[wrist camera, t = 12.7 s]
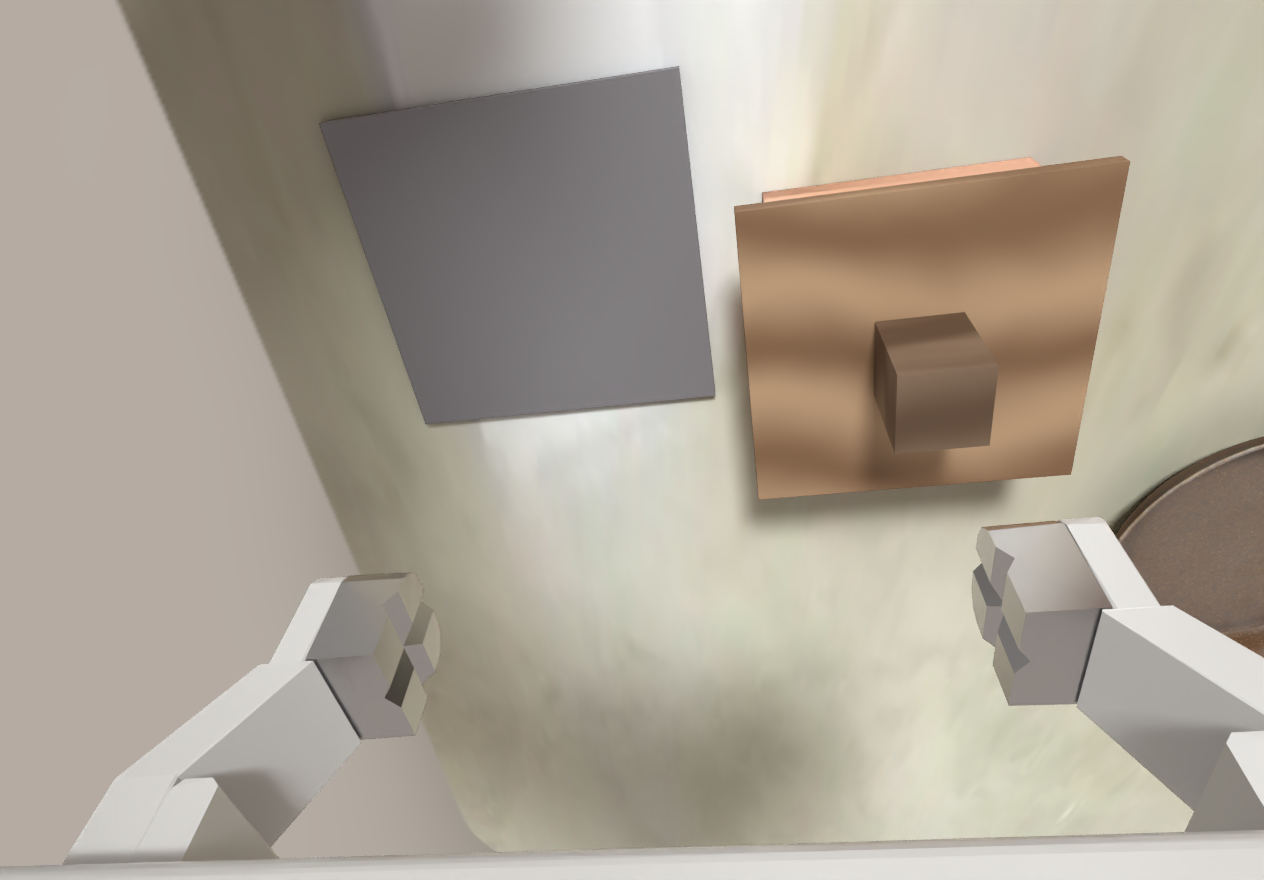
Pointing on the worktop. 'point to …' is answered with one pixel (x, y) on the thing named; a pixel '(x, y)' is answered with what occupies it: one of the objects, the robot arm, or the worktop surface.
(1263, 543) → the plant saucer
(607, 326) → the rubber mat
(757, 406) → the walnut cover
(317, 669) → the robot arm
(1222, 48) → the worktop surface
